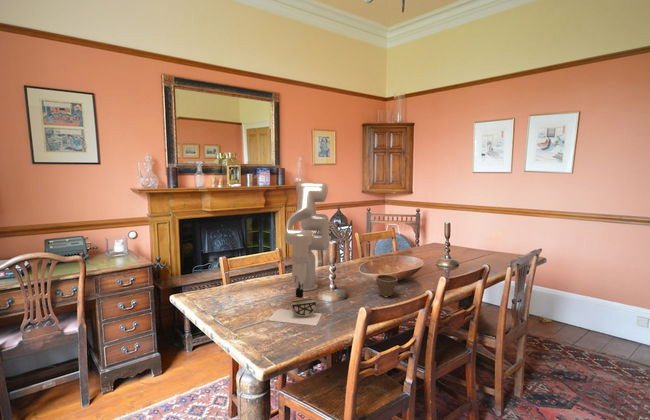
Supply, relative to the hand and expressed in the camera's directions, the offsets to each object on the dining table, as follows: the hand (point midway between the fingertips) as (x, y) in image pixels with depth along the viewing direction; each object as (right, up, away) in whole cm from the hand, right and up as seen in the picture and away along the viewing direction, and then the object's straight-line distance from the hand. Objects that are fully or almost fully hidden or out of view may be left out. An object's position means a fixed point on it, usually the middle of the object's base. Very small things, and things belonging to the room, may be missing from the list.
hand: (299, 297), depth 170 cm
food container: (+1, -5, +4) cm, 7 cm away
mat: (-1, -8, -5) cm, 10 cm away
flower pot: (+45, -6, +27) cm, 53 cm away
